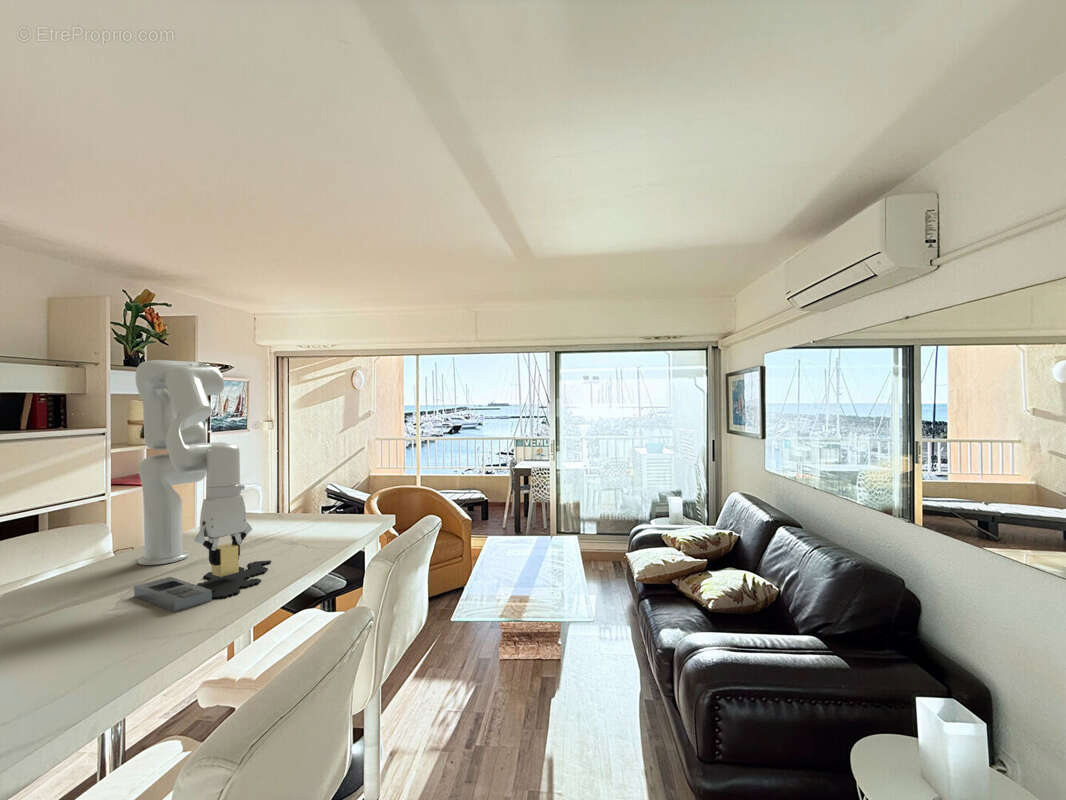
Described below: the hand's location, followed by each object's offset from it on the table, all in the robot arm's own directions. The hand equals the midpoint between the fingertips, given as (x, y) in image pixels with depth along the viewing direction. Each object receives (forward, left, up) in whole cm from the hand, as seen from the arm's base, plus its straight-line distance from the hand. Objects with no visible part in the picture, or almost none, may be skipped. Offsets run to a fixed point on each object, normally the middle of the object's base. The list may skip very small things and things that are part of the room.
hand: (224, 561), depth 141 cm
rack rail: (+1, -13, -5) cm, 14 cm away
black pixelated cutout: (0, +2, -6) cm, 6 cm away
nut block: (0, 0, -3) cm, 3 cm away
